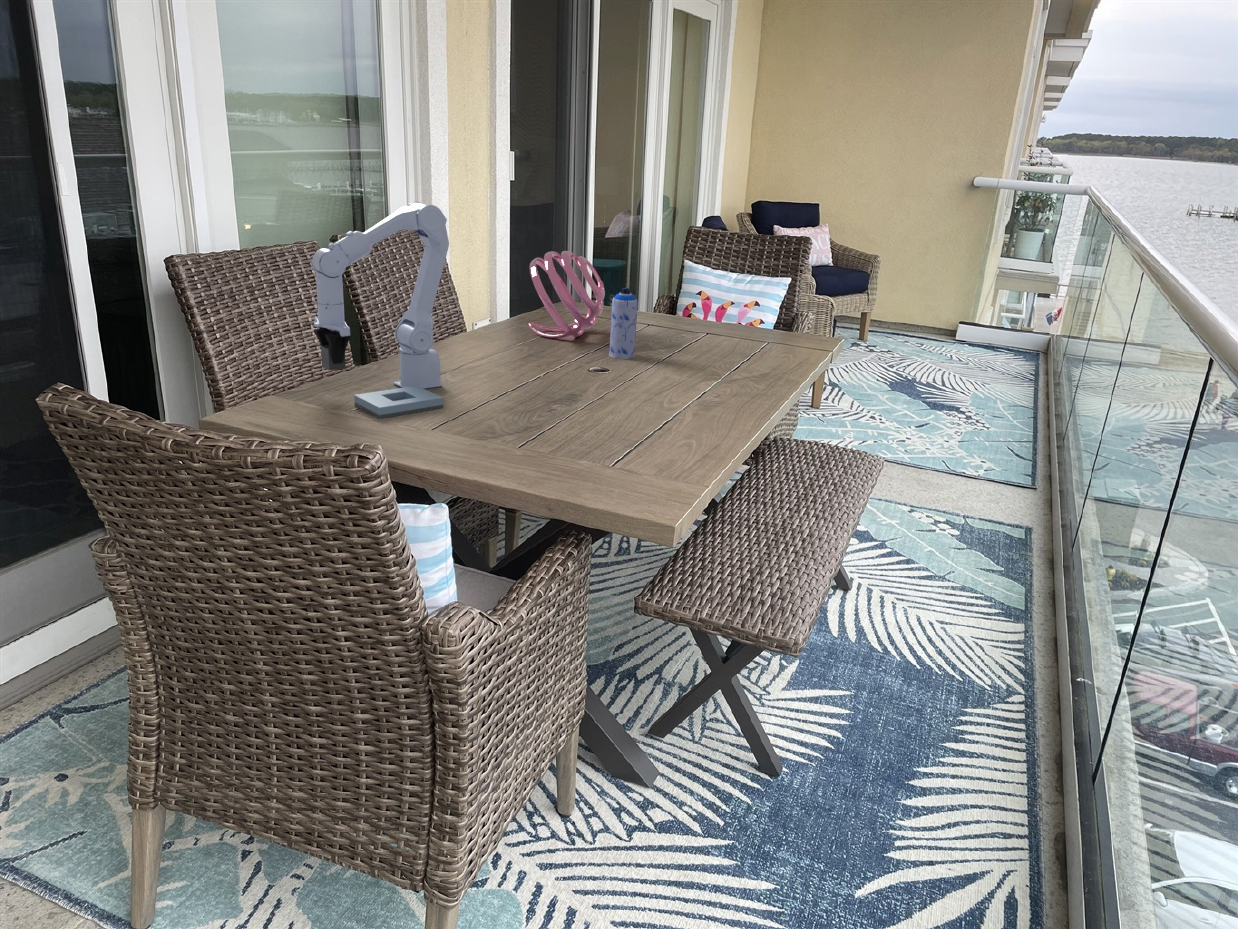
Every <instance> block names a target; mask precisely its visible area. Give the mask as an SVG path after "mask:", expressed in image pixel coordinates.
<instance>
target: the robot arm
mask: <svg viewBox="0 0 1238 929" xmlns="http://www.w3.org/2000/svg"><path fill="white" fill-rule="evenodd" d="M447 221H448V219H447V217H446V215H444V213H443V212H442V210H441V209H440V208H439V207H438V206H436V205H434V204H427V203H422V202H420V201H412V202H410V203H408V204H407V205H404V206H401V207H400V208H398V209H397V210H396V211H394V212H393V213H391V214H390V215H388V216H386V217H385V218H383V219H382V220H381V221H379V222H377V223H376V224H375V225H373V226H371V227H370V228H367V230H365V231H364V232H362V231H359V230H355V231H352V230H349V231H347V232H346V233H345V235H346V236H344V237H343V238H341V239H339V240H337V241H336V242H334V243H333V242H330V243H328V248H320V249H317V250H316V252H314V255H312V260H311V261H310V264H311V267H312V269H313V270H314V271H315V277H316V279H315V280H316V299H317V300H316V301H317V315H318V316H314V323H313V326H314V327H316V328H314V329H313V333H314V334H315V337H316V338H317V340H318V342H319V345H320V347H321V346H323V345H329V346H330V350H331V356H332V360H333V363H334V364H338V363H343V360H344V355H345V356H346V350H347V346H348V345H349V344H348V343H349V342H350V340H351V338H352V333H351V328H350V326H348V325H347V322H346V321H345V304H344V303H345V302H344V288H343V287H344V283H343V274H344V273H345V272H346V269H347V268H348V267H349V266H351V265H352V264H354V263H356V262H358V261H359V260H361V259H363V258H364V257H366V256H367V255H369V254H371V251H372V248H373V246H374V245H375V244H377V243H379V242H381V241H383V240H385V239H387V238H388V237H390V236H392V235H394V234H395V233H398V232H400V231H402V230H404V231H406V230H407V231H414V232H415V233H416V234H417V235H418V237H419V238H420V240H421V241H422V243H423V244H424V249H423V253H422V258H421V262H420V265H419V269H418V272H417V277H416V281H415V285H414V288H413V292H412V297H411V299H410V300H411V301H410V304H409V308H408V309H407V310H406V311H405V313H403V315H402V317H401V321H400V322H399V323H398V324H397V326H396V327H395V331H394V336H395V340H396V341H397V342H398V343H399V380H398V381H393V384H394V385H396V387H397V386H398V387H399V388H404V387H411V386H419V387H421V388H423V389H425V390H426V389H430V388H437V387H442V386H443V384H442V383H441V358H440V354H439V352H438V351H437V350H436V349H434V348H432V347H433V344H434V335H433V330H434V328H435V327H434V322H433V318H432V313H433V308H434V304H435V301H436V296H437V293H438V289H439V285H440V281H441V277H442V273H443V270H444V266H445V262H446V259H447V256H448V251H449V247H450V240H449V236H448V231H447V224H446V223H447Z"/></svg>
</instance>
